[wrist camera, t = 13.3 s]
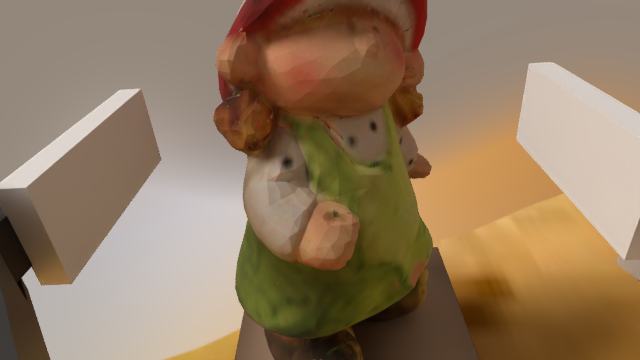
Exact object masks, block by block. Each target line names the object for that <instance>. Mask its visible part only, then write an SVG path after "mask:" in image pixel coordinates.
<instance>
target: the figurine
mask: <svg viewBox="0 0 640 360" xmlns="http://www.w3.org/2000/svg"><path fill="white" fill-rule="evenodd" d="M426 20H427V0H244V1H243V3H242V6H241V7H240V9H239V12H238V14H237V16H236V19H235V21H234V23H233V25H232V27H231V29H230V31H229V33H228V35H227V37H226V39H225V41H224V42H223V44H222V45H221V47H220V48H219V49H218V54H217V61H216V67H217V69H218V78H219V90H220V94H221V97H222V100H223V103H221V104H220V105H219V106H218V107H217V108H216V110H215V113H214V122H215V124H216V127H217V129H218V131H219V132H220V133H221V134H222V135H223V136H224V137H225V138H226V139H227V141H228V142H229V144H230V145H231V146H232V147H233V148H235V149H236V150H239V151H242V152H244V153H245V154H247V158H248V162H247V167H246V173H245V178H244V186H243V187H244V188H243V202H244V208H245V212H246V215H247V218H248V221H247V225H246V230H245V234H244V238H243V241H242V245H241V249H240V253H239V257H238V262H237V270H236V286H235V289H236V292H237V296H238V299H239V302H240V303H241V305H242V307H243V309H244V311H245V312H246V314H247V316H248V317H250V318H251V319H252V320H253V321H254V322H256V323H257V324H258V325H259V326H261V327H263V328H264V334H265V337H266V341H267V344H268V347H269V350H270V352H271V354H272V356H273V358H274V360H363V355H362V351H361V347H360V345H359V343H358V342H357V340H356V337H355V335H354V332H353V330H352V327H351V325H353V324H356V323H358V322H360V321H371V322H382V321H387V320H392V319H397V318H400V317H403V316H406V315H408V314H410V313H411V312H413V311H415V310H416V309H418V308H419V306H420V305H421V304H422V303H423V301H424V300H425V296H426V293H427V286H426V283H427V280H428V275H429V273H428V269H427V266H426V265H427V263H428V261H429V259H430V255H431V252H432V248H433V242H432V238H431V235H430V233H429V230H428V228H427V227H426V225H425V224H424V222H423V221H422V219H421V217H420V215H419V212H418V208H417V201H416V197H415V193H414V190H413V187H412V184H411V181H410V178H414V179H415V178H425V177H426V176H428V175H429V174H430V171H431V165H430V164H429V162H428V161H427V159H425V158H424V157H423V156H422V155H420V154H418V153H417V152H418V148H417V145H416V142H415V139H414V138H413V136H412V134H411V133H410V131H409V129H408V128H407V126H406V125H407V124H409V123H411V122H412V121H414V120H415V119H416V118H417V117H419V116H420V115H421V114H422V113H423V103H422V102H423V97H422V94H420V93H418V92H417V91H416V86H417V85H418V84H419V83H420V82H421V80H422V78H423V76H424V62H423V58H422V56H421V54H420V52H419V50H418V47H419V44H420V42H421V40H422V37H423V35H424V31H425V25H426Z"/></svg>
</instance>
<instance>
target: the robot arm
mask: <svg viewBox="0 0 640 360" xmlns="http://www.w3.org/2000/svg"><path fill="white" fill-rule="evenodd" d="M516 140H517V141H518V142H519V143H520V144H521V145H522V147H523V148H524V149H525V150H526V151H527V152H528V153H529V154H530V155H531V157H532V158H533V159H534V160H535V161H536V162H537V163H538V164H539V166H540V167H541V168H542V169H543V170H544V171H545V172H546V173H547V175H548V176H549V177H550V178H551V179H552V180H553V181H554V182H555V183H556V185H557V186H558V187H559V188H560V189H561V190H562V191H563V192H564V194H565V195H566V196H567V197H568V198H569V199H570V200H571V201H572V202H573V204H574V205H575V206H576V207H577V208H578V209H579V210H580V211H581V213H582V214H583V215H584V216H585V217H586V218H587V219H588V220H589V221H590V223H591V224H592V225H593V226H594V227H595V228H596V229H597V230H598V232H599V233H600V234H601V235H602V236H603V237H604V238H605V239H606V240H607V242H608V243H609V244H610V245H611V246H612V247H613V248H614V249H615V251H616V252H617V253H618V254H619V255H620V256H621V257H622V258H623V259H624V260H640V113H638V112H636V111H635V110H633V109H631V108H629V107H628V106H626V105H624V104H623V103H621V102H619V101H618V100H616V99H614V98H612V97H611V96H609V95H607V94H606V93H604V92H602V91H601V90H599V89H597V88H596V87H594V86H592V85H591V84H589V83H587V82H585V81H584V80H582V79H580V78H579V77H577V76H575V75H574V74H572V73H570V72H569V71H567V70H565V69H564V68H562V67H560V66H558V65H557V64H555V63H553V62H546V63H532V64H531V63H530V64H529V67H528V73H527V79H526V84H525V91H524V96H523V102H522V109H521V114H520V120H519V126H518V131H517V137H516ZM160 161H161V157H160V153H159V150H158V146H157V143H156V139H155V136H154V132H153V128H152V125H151V121H150V118H149V114H148V111H147V107H146V104H145V100H144V97H143V93H142V90H141V89H129V90H119V91H118V92H116V93H115V94H114V95H113V96H111V97H110V98H109V99H108V100H106V101H105V102H104V103H102V104H101V105H100V106H98V107H97V108H96V109H94V110H93V111H92V112H91V113H90V114H88V115H87V116H86V117H84V118H83V119H82V120H80V121H79V122H78V123H77V124H75V125H74V126H73V127H71V128H70V129H69V130H67V131H66V132H65V133H63V134H62V135H61V136H60V137H58V138H57V139H56V140H54V141H53V142H52V143H51V144H49V145H48V146H47V147H45V148H44V149H43V150H42V151H40V152H39V153H38V154H36V155H35V156H34V157H33V158H31V159H30V160H29V161H27V162H26V163H25V164H23V166H21V167H20V168H18V169H17V170H16V171H14V172H13V173H12V174H11V175H9V176H8V177H7V178H5V179H4V180H3V181H2V182H0V360H50V357H49V354H48V351H47V348H46V345H45V342H44V339H43V336H42V332H41V329H40V326H39V323H38V320H37V317H36V314H35V310H34V307H33V304H32V301H31V298H30V295H29V292H28V289H27V287H26V285H25V284H24V282H23V280H22V277H23V275H24V274H25V273H26V272H27V271H28V270H29V269H30V267H32V269H33V270H34V272H35V274H36V276H37V278H38V280H39V282H40V284H41V285H59V284H72V283H73V281H74V280H75V279H76V277H77V276H78V274H79V273H80V272H81V270H82V269H83V267H84V266H85V265H86V263H87V262H88V260H89V259H90V258H91V256H92V255H93V253H94V252H95V251H96V249H97V248H98V247H99V245H100V244H101V242H102V241H103V240H104V238H105V237H106V236H107V234H108V233H109V231H110V230H111V229H112V227H113V226H114V224H115V223H116V222H117V220H118V219H119V217H120V216H121V215H122V213H123V212H124V211H125V209H126V208H127V206H128V205H129V204H130V202H131V201H132V199H133V198H134V197H135V195H136V194H137V192H138V191H139V190H140V188H141V187H142V186H143V184H144V183H145V181H146V180H147V179H148V177H149V176H150V174H151V173H152V172H153V170H154V169H155V168H156V166H157V165H158V163H159V162H160Z"/></svg>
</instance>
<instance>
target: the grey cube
mask: <svg viewBox="0 0 640 360" xmlns="http://www.w3.org/2000/svg"><path fill="white" fill-rule="evenodd" d="M616 264H618V265H619V266H620V267H622V268H623V269H624V270H626V271H627V272H628V273H630V274H631V275H632V276H634V277H635V278H636V279H638V280H639V281H640V260H624V259H623V258H622V257H621V256H620V255H619V256H618V259H617V262H616Z"/></svg>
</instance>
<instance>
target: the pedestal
mask: <svg viewBox="0 0 640 360" xmlns="http://www.w3.org/2000/svg"><path fill="white" fill-rule="evenodd" d="M426 266H427V269H428V273H429V275H428V280H427V283H426V286H427V293H426V296H425V300H424V301H423V303H422V304H421V305H420V306H419V308H418V309H416V310H415V311H413V312H411V313H410V314H408V315H406V316H403V317H400V318H397V319H392V320H387V321H382V322H371V321H360V322H358V323H356V324H353V325H351V327H352V330H353V332H354V335H355V337H356V340H357V342H358V343H359V345H360V347H361V351H362V355H363V360H479V357H478V355H477V352H476V349H475V347H474V344H473V341H472V338H471V336H470V333H469V330H468V328H467V325H466V322H465V320H464V317H463V314H462V311H461V309H460V306H459V303H458V301H457V298H456V295H455V293H454V290H453V287H452V285H451V282H450V279H449V276H448V274H447V271H446V268H445V266H444V263H443V260H442V258H441V255H440V252H439V249H438V247H433V248H432V252H431V255H430V259H429V261H428V263H427V265H426ZM235 360H274V358H273V356H272V354H271V352H270V350H269V347H268V344H267V341H266V337H265V334H264V328H263V327H261V326H259V325H258V324H257V323H256V322H254V321H253V320H252V319H251V318H250V317H248V316H247V314H246V312H245V311H244V315H243V320H242V325H241V330H240V335H239V340H238V345H237V350H236V355H235Z"/></svg>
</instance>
